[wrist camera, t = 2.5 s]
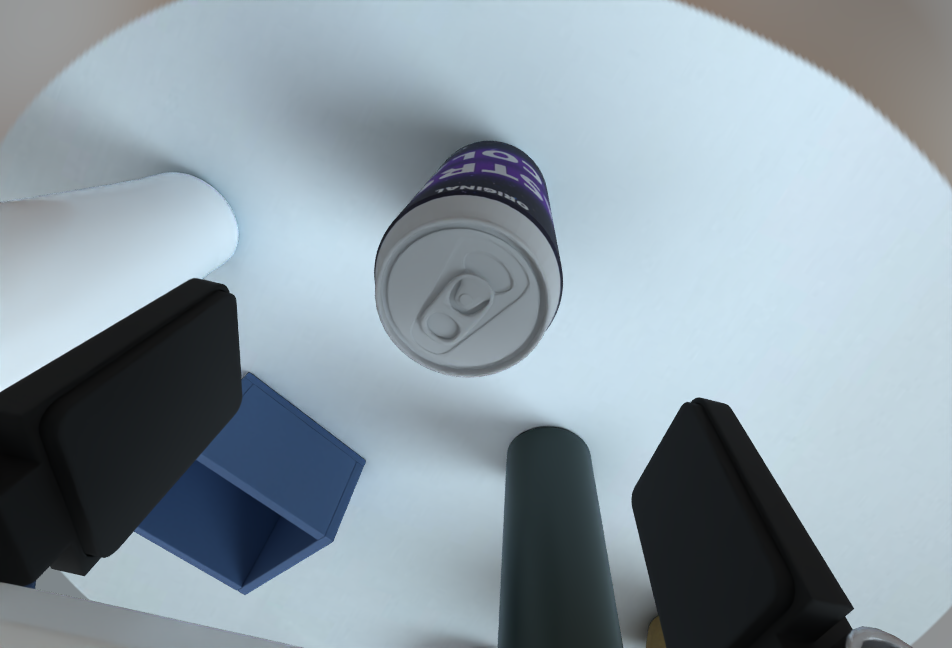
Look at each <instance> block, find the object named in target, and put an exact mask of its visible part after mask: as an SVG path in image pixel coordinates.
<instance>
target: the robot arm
mask: <svg viewBox="0 0 952 648" xmlns="http://www.w3.org/2000/svg"><path fill="white" fill-rule="evenodd" d="M241 402H242V381H241V365H240V350H239V334H238V318H237V303H236V298H235V296H234V295H233V294H231V293H229V290H228V288H227V286H225V285H224V284H220V283H215V282H211V281H207V280H203V279H199V278H192V279H189V280H188V281H186V282H184V283H183V284H181V285H179V286H178V287H176V288H174V289H173V290H171V291H169V292H167V293H166V294H164V295H162V296H161V297H159V298H157V299H156V300H154V301H152V302H151V303H149V304H147V305H146V306H144V307H142V308H141V309H139V310H137V311H136V312H134V313H132V314H130V315H129V316H127V317H125V318H124V319H122V320H120V321H119V322H117V323H115V324H114V325H112V326H110V327H109V328H107V329H105V330H104V331H102V332H100V333H99V334H97V335H95V336H93V337H92V338H90V339H88V340H87V341H85V342H83V343H82V344H80V345H78V346H77V347H75V348H73V349H72V350H70V351H68V352H67V353H65V354H63V355H62V356H60V357H58V358H56V359H55V360H53V361H51V362H50V363H48V364H46V365H45V366H43V367H41V368H40V369H38V370H36V371H35V372H33V373H31V374H30V375H28V376H26V377H25V378H23V379H21V380H19V381H18V382H16V383H14V384H13V385H11V386H9V387H8V388H6V389H4V390H3V391H1V392H0V648H302V647H298V646H293V645H289V644H285V643H280V642H276V641H271V640H267V639H262V638H258V637H253V636H249V635H244V634H240V633H235V632H231V631H226V630H222V629H217V628H213V627H208V626H204V625H199V624H195V623H190V622H185V621H181V620H176V619H172V618H167V617H163V616H158V615H154V614H149V613H145V612H140V611H136V610H131V609H127V608H122V607H118V606H113V605H109V604H104V603H100V602H95V601H91V600H86V599H81V598H77V597H71V596H67V595H62V594H57V593H51V592H47V591H41V590H37V589H35V585H36V580H37V579H38V578H39V576H41V574H43V572H44V571H45V570H46V569H47V568H48V567H49V566H50V567H51V568H52V569H55V570H60V571H64V572H68V573H73V574H77V575H82V576H85V575H86V574H87V573H88V572H89V571H90V570H91V568H92V567H93V566H94V565H95V564H96V563H97V562H98V561H99V559H100V558H101V557H103V558H106V557H109V556H110V555H112V554H113V553H115V552H116V551H117V550H118V549H119V548H120V546H121V545H122V544H123V543H124V542H125V541H126V539H127V538H128V537H129V536H130V535H131V534H132V533H133V531H134V530H135V529H136V528H137V527H138V526H139V525H140V523H141V522H142V521H143V520H144V519H145V518H146V517H147V515H148V514H149V513H150V512H151V511H152V510H153V508H154V507H155V506H156V505H157V504H158V503H159V502H160V500H161V499H162V498H163V497H164V496H165V495H166V494H167V492H168V491H169V490H170V489H171V488H172V487H173V485H174V484H175V483H176V482H177V481H178V480H179V479H180V477H181V476H182V475H183V474H184V473H185V472H186V471H187V469H188V468H189V467H190V466H191V465H192V464H193V463H194V461H195V460H196V459H197V458H198V457H199V456H200V454H201V453H202V452H203V451H204V450H205V449H206V448H207V446H208V445H209V444H210V443H211V442H212V441H213V440H214V438H215V437H216V436H217V435H218V434H219V433H220V432H221V430H222V429H223V428H224V427H225V426H226V425H227V423H228V422H229V421H230V420H231V419H232V418H233V417H234V415H235V414H236V413H237V411H238V410H239V408H240V405H241ZM632 508H633V512H634V517H635V521H636V525H637V529H638V533H639V537H640V541H641V545H642V550H643V554H644V558H645V562H646V566H647V570H648V574H649V578H650V583H651V587H652V591H653V595H654V599H655V603H656V607H657V612H658V616H659V620H660V624H661V628H662V632H663V636H664V640H665V645H666V648H913V647H911V646H910V645H908V644H907V643H905V642H903V641H902V640H900V639H899V638H897V637H895V636H894V635H891V634H889V633H887V632H884V631H882V630H880V629H877V628H871V627H864V626H862V627H859V628H856V629H852V627H851V626H850V624H849V622H848V621H847V619H846V617H845V616H846V615H847V614H849V613H850V612H851V611H852V610H853V609H854V608H853V606H852V604H851V603H850V601H849V600H848V598H847V596H846V595H845V593H844V591H843V590H842V588H841V587H840V585H839V583H838V582H837V580H836V578H835V577H834V575H833V574H832V572H831V570H830V569H829V567H828V565H827V564H826V562H825V560H824V559H823V557H822V556H821V554H820V552H819V551H818V549H817V547H816V546H815V544H814V543H813V541H812V539H811V538H810V536H809V534H808V533H807V531H806V530H805V528H804V526H803V525H802V523H801V521H800V520H799V518H798V517H797V515H796V513H795V512H794V510H793V508H792V507H791V505H790V503H789V502H788V500H787V499H786V497H785V495H784V494H783V492H782V490H781V489H780V487H779V486H778V484H777V482H776V481H775V479H774V477H773V476H772V474H771V473H770V471H769V469H768V468H767V466H766V464H765V463H764V461H763V459H762V458H761V456H760V455H759V453H758V451H757V450H756V448H755V446H754V445H753V443H752V442H751V440H750V438H749V437H748V435H747V433H746V432H745V430H744V429H743V427H742V425H741V424H740V422H739V420H738V419H737V417H736V415H735V414H734V412H733V411H732V409H731V408H730V407H729V405H727V404H724V403H720V402H716V401H712V400H708V399H703V398H695V399H694V400H692V401H691V403H690V402H686V403H684V404H683V405H682V406H681V408H680V409H679V411H678V413H677V415H676V416H675V418H674V420H673V422H672V423H671V425H670V427H669V428H668V430H667V432H666V434H665V435H664V437H663V439H662V441H661V442H660V444H659V446H658V448H657V449H656V451H655V453H654V454H653V456H652V458H651V460H650V461H649V463H648V465H647V467H646V468H645V470H644V472H643V474H642V475H641V477H640V479H639V481H638V482H637V484H636V486H635V488H634V490H633V493H632Z"/></svg>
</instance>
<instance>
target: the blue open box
mask: <svg viewBox="0 0 952 648" xmlns="http://www.w3.org/2000/svg"><path fill="white" fill-rule="evenodd" d="M241 381H242V402H241V405H240V408H239V410H238V411H237V413H236V414H235V415H234V417H233V418H232V419H231V420H230V421H229V422H228V423H227V425H226V426H225V427H224V428H223V429H222V430H221V432H220V433H219V434H218V435H217V436H216V437H215V438H214V440H213V441H212V442H211V443H210V444H209V445H208V446H207V448H206V449H205V450H204V451H203V452H202V453H201V454H200V456H199V457H198V458H197V459H196V460H195V461H194V463H193V464H192V465H191V466H190V467H189V468H188V469H187V471H186V472H185V473H184V474H183V475H182V476H181V477H180V479H179V480H178V481H177V482H176V483H175V484H174V485H173V487H172V488H171V489H170V490H169V491H168V492H167V494H166V495H165V496H164V497H163V498H162V499H161V500H160V502H159V503H158V504H157V505H156V506H155V507H154V508H153V510H152V511H151V512H150V513H149V514H148V515H147V517H146V518H145V519H144V520H143V521H142V522H141V523H140V525H139V526H138V527H137V528H136V529H135V530H134V532H136V533H137V534H139V535H141V536H143V537H144V538H146V539H148V540H150V541H151V542H153V543H155V544H157V545H158V546H160V547H162V548H164V549H165V550H167V551H169V552H171V553H172V554H174V555H176V556H177V557H179V558H181V559H183V560H184V561H186V562H188V563H190V564H191V565H193V566H195V567H197V568H198V569H200V570H202V571H204V572H205V573H207V574H209V575H211V576H212V577H214V578H216V579H218V580H219V581H221V582H223V583H224V584H226V585H228V586H230V587H231V588H233V589H235V590H238V591H239V592H240V593H242V594H244V595H246V594H248V593H249V592H251V591H253V590H254V589H256V588H258V587H259V586H261V585H262V584H264V583H266V582H267V581H269V580H271V579H272V578H274V577H276V576H277V575H279V574H281V573H282V572H284V571H286V570H287V569H289V568H291V567H292V566H294V565H296V564H297V563H299V562H300V561H302V560H304V559H305V558H307V557H309V556H310V555H312V554H314V553H315V552H317V551H319V550H320V549H322V548H324V547H325V546H327V545H329V544H330V543H332V542H333V541H334V538H335V536H336V533H337V531H338V528H339V526H340V523H341V521H342V518H343V516H344V514H345V511H346V509H347V506H348V504H349V501H350V499H351V496H352V494H353V491H354V489H355V486H356V484H357V482H358V479H359V477H360V474H361V472H362V469H363V467H364V465H365V462H366V460H364V459H363V458H362V457H360V456H359V455H358V454H356V453H355V452H354V451H352V450H351V449H350V448H349V447H347V446H346V445H345V444H343V443H342V442H341V441H339V440H338V439H337V438H335V437H334V436H333V435H331V434H330V433H329V432H327V431H326V430H325V429H324V428H322V427H321V426H320V425H318V424H317V423H316V422H314V421H313V420H312V419H310V418H309V417H308V416H306V415H305V414H304V413H302V412H301V411H300V410H299V409H297V408H296V407H295V406H293V405H292V404H291V403H289V402H288V401H287V400H285V399H284V398H283V397H281V396H280V395H279V394H278V393H276V392H275V391H274V390H272V389H271V388H270V387H268V386H267V385H266V384H264V383H263V382H262V381H260V380H259V379H258V378H256V377H255V376H254V375H253V374H251V373H250V372H249V373H248V374H247V375H245V376H244V377H243V378H242V379H241Z"/></svg>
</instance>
